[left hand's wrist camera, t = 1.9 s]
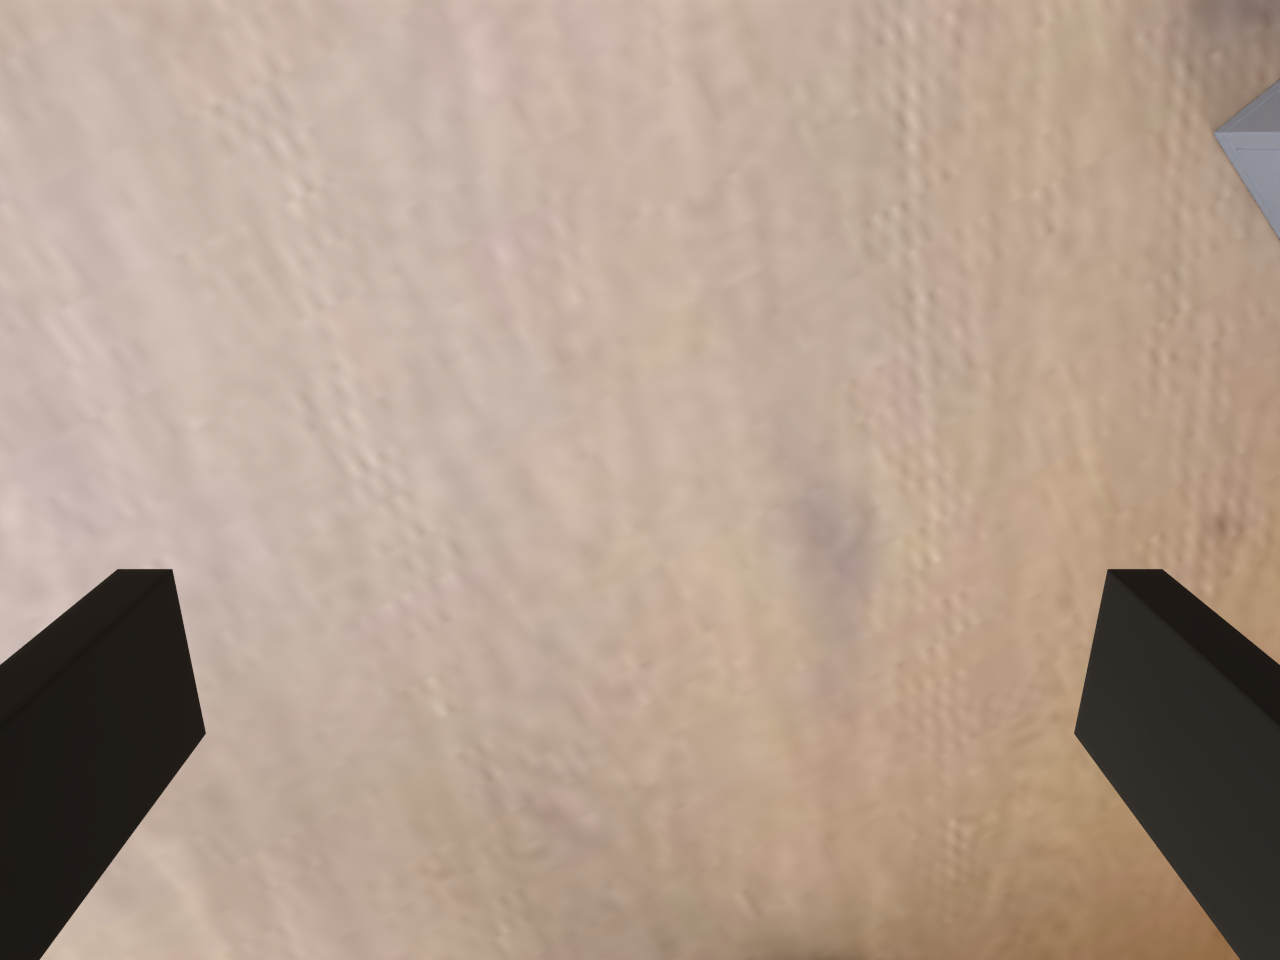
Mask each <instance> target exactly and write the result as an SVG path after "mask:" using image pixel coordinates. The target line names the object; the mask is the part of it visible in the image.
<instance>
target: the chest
mask: <svg viewBox="0 0 1280 960" xmlns="http://www.w3.org/2000/svg"><path fill="white" fill-rule="evenodd" d="M1213 134H1214V136H1215V137H1216V139H1217V140H1218V142H1219V144H1220V145H1221V147H1222V148H1223V150H1224V152H1225V153H1226V155H1227V156H1228V158H1229V160H1230V161H1231V163H1232V164H1233V166H1234V168H1235V169H1236V171H1237V172H1238V174H1239V175H1240V177H1241V179H1242V180H1243V182H1244V183H1245V185H1246V187H1247V188H1248V190H1249V191H1250V193H1251V195H1252V196H1253V198H1254V199H1255V201H1256V203H1257V204H1258V206H1259V207H1260V209H1261V211H1262V212H1263V214H1264V215H1265V217H1266V219H1267V220H1268V222H1269V223H1270V225H1271V226H1272V228H1273V230H1274V231H1275V233H1276V234H1277V236H1278V238H1279V239H1280V80H1279V81H1277V82H1276V83H1275V84H1274V85H1272V86H1271V87H1270V88H1269V89H1267V90H1266V91H1265V92H1264V93H1262V94H1261V95H1260V96H1259V97H1257V98H1256V99H1255V100H1254V101H1252V102H1251V103H1250V104H1249V105H1247V106H1246V107H1245V108H1244V109H1242V110H1241V111H1240V112H1239V113H1237V114H1236V115H1235V116H1234V117H1232V118H1231V119H1230V120H1229V121H1227V122H1226V123H1225V124H1224V125H1222V126H1221V127H1220V128H1219V129H1217V130H1216V131H1215V132H1214V133H1213Z"/></svg>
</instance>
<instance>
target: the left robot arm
mask: <svg viewBox="0 0 1280 960" xmlns="http://www.w3.org/2000/svg"><path fill="white" fill-rule="evenodd" d="M205 734H206V732H205V727H204V722H203V717H202V712H201V708H200V703H199V698H198V693H197V688H196V683H195V678H194V673H193V668H192V663H191V659H190V654H189V649H188V644H187V639H186V634H185V629H184V624H183V619H182V614H181V610H180V605H179V600H178V595H177V590H176V585H175V580H174V575H173V570H172V569H117V570H116V571H115V572H114V573H113V574H111V575H110V576H109V577H108V578H106V579H105V580H104V581H103V582H101V583H100V584H99V585H98V586H97V587H95V588H94V589H93V590H92V591H90V592H89V593H88V594H87V595H86V596H84V597H83V598H82V599H81V600H79V601H78V602H77V603H76V604H75V605H73V606H72V607H71V608H70V609H68V610H67V611H66V612H65V613H63V614H62V615H61V616H60V617H59V618H57V619H56V620H55V621H54V622H52V623H51V624H50V625H49V626H48V627H46V628H45V629H44V630H43V631H41V632H40V633H39V634H38V635H37V636H35V637H34V638H33V639H32V640H30V641H29V642H28V643H27V644H25V645H24V646H23V647H22V648H21V649H19V650H18V651H17V652H16V653H14V654H13V655H12V656H11V657H10V658H8V659H7V660H6V661H5V662H3V663H2V664H1V665H0V960H40V958H41V957H42V956H43V954H44V953H45V952H46V950H47V949H48V948H49V946H50V945H51V943H52V942H53V941H54V939H55V938H56V937H57V935H58V934H59V933H60V931H61V930H62V928H63V927H64V926H65V924H66V923H67V922H68V920H69V919H70V918H71V916H72V915H73V914H74V912H75V911H76V909H77V908H78V907H79V905H80V904H81V903H82V901H83V900H84V899H85V897H86V896H87V894H88V893H89V892H90V890H91V889H92V888H93V886H94V885H95V884H96V882H97V881H98V880H99V878H100V877H101V875H102V874H103V873H104V871H105V870H106V869H107V867H108V866H109V865H110V863H111V862H112V860H113V859H114V858H115V856H116V855H117V854H118V852H119V851H120V850H121V848H122V847H123V846H124V844H125V843H126V841H127V840H128V839H129V837H130V836H131V835H132V833H133V832H134V831H135V829H136V828H137V826H138V825H139V824H140V822H141V821H142V820H143V818H144V817H145V816H146V814H147V813H148V812H149V810H150V809H151V807H152V806H153V805H154V803H155V802H156V801H157V799H158V798H159V797H160V795H161V794H162V792H163V791H164V790H165V788H166V787H167V786H168V784H169V783H170V782H171V780H172V779H173V778H174V776H175V775H176V773H177V772H178V771H179V769H180V768H181V767H182V765H183V764H184V763H185V761H186V760H187V759H188V757H189V756H190V754H191V753H192V752H193V750H194V749H195V748H196V746H197V745H198V744H199V742H200V741H201V739H202V738H203V737H204V735H205ZM1074 734H1075V735H1076V737H1077V738H1078V739H1079V741H1080V742H1081V744H1082V745H1083V746H1084V748H1085V749H1086V750H1087V752H1088V753H1089V754H1090V756H1091V757H1092V759H1093V760H1094V761H1095V763H1096V764H1097V765H1098V767H1099V768H1100V769H1101V771H1102V772H1103V773H1104V775H1105V776H1106V778H1107V779H1108V780H1109V782H1110V783H1111V784H1112V786H1113V787H1114V788H1115V790H1116V791H1117V792H1118V794H1119V795H1120V797H1121V798H1122V799H1123V801H1124V802H1125V803H1126V805H1127V806H1128V807H1129V809H1130V810H1131V812H1132V813H1133V814H1134V816H1135V817H1136V818H1137V820H1138V821H1139V822H1140V824H1141V825H1142V826H1143V828H1144V829H1145V831H1146V832H1147V833H1148V835H1149V836H1150V837H1151V839H1152V840H1153V841H1154V843H1155V844H1156V846H1157V847H1158V848H1159V850H1160V851H1161V852H1162V854H1163V855H1164V856H1165V858H1166V859H1167V860H1168V862H1169V863H1170V865H1171V866H1172V867H1173V869H1174V870H1175V871H1176V873H1177V874H1178V875H1179V877H1180V878H1181V880H1182V881H1183V882H1184V884H1185V885H1186V886H1187V888H1188V889H1189V890H1190V892H1191V893H1192V894H1193V896H1194V897H1195V899H1196V900H1197V901H1198V903H1199V904H1200V905H1201V907H1202V908H1203V909H1204V911H1205V912H1206V914H1207V915H1208V916H1209V918H1210V919H1211V920H1212V922H1213V923H1214V924H1215V926H1216V927H1217V928H1218V930H1219V931H1220V933H1221V934H1222V935H1223V937H1224V938H1225V939H1226V941H1227V942H1228V943H1229V945H1230V946H1231V948H1232V949H1233V950H1234V952H1235V953H1236V954H1237V956H1238V957H1239V958H1240V960H1280V665H1279V664H1278V663H1277V662H1275V661H1274V660H1273V659H1272V658H1270V657H1269V656H1268V655H1267V654H1266V653H1264V652H1263V651H1262V650H1261V649H1259V648H1258V647H1257V646H1256V645H1255V644H1253V643H1252V642H1251V641H1250V640H1248V639H1247V638H1246V637H1245V636H1243V635H1242V634H1241V633H1240V632H1239V631H1237V630H1236V629H1235V628H1234V627H1232V626H1231V625H1230V624H1229V623H1228V622H1226V621H1225V620H1224V619H1223V618H1221V617H1220V616H1219V615H1218V614H1217V613H1215V612H1214V611H1213V610H1212V609H1210V608H1209V607H1208V606H1207V605H1205V604H1204V603H1203V602H1202V601H1201V600H1199V599H1198V598H1197V597H1196V596H1194V595H1193V594H1192V593H1191V592H1190V591H1188V590H1187V589H1186V588H1185V587H1183V586H1182V585H1181V584H1180V583H1179V582H1177V581H1176V580H1175V579H1174V578H1172V577H1171V576H1170V575H1169V574H1167V573H1166V572H1165V571H1164V570H1163V569H1108V570H1107V575H1106V580H1105V585H1104V590H1103V595H1102V600H1101V605H1100V610H1099V614H1098V619H1097V624H1096V629H1095V634H1094V639H1093V644H1092V649H1091V654H1090V659H1089V663H1088V668H1087V673H1086V678H1085V683H1084V688H1083V693H1082V698H1081V703H1080V708H1079V712H1078V717H1077V722H1076V727H1075V732H1074Z"/></svg>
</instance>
